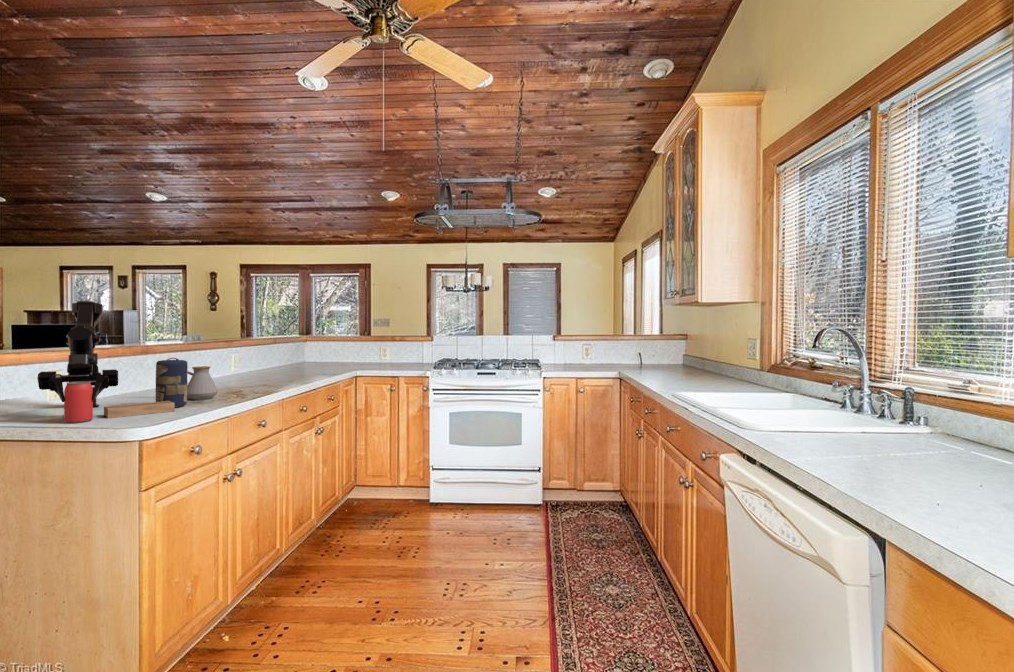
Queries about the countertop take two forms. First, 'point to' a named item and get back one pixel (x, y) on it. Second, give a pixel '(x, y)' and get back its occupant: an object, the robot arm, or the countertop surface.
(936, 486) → the countertop surface
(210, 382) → the coffee pot
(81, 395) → the beer can
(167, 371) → the canister
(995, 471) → the countertop surface
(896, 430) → the countertop surface
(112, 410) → the walnut beam
